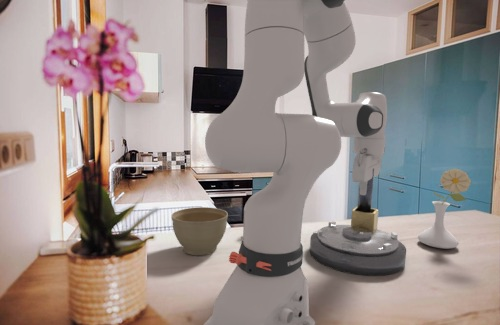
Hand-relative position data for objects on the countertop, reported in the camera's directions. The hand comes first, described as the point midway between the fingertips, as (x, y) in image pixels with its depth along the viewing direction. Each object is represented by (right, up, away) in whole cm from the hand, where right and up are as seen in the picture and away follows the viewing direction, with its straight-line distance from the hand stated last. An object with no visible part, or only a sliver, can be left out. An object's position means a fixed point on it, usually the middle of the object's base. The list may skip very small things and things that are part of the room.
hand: (365, 193), depth 101 cm
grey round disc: (-4, -13, -5) cm, 15 cm away
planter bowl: (-50, -17, -4) cm, 53 cm away
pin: (0, -6, +1) cm, 6 cm away
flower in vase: (+25, -17, +4) cm, 31 cm away
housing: (-5, -18, -5) cm, 19 cm away
